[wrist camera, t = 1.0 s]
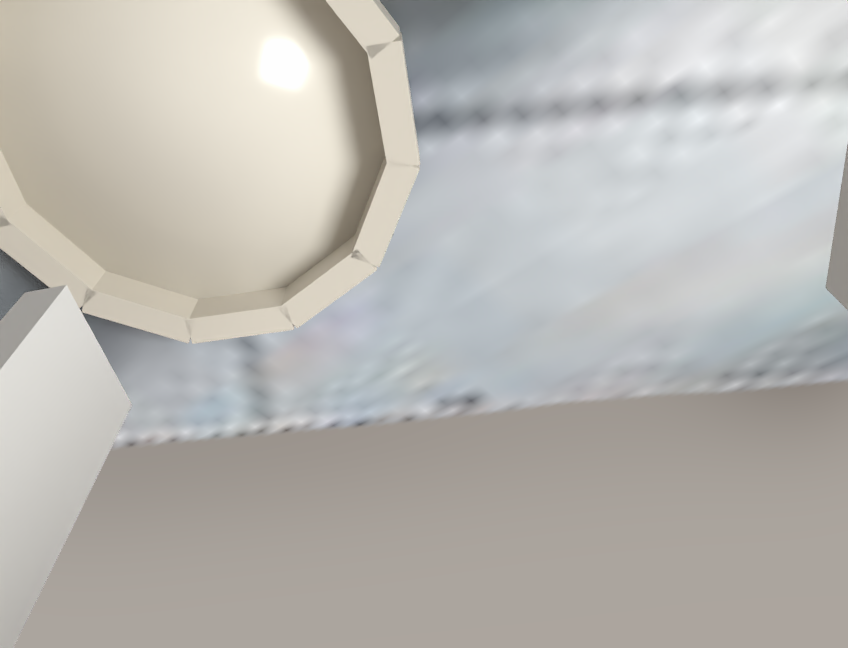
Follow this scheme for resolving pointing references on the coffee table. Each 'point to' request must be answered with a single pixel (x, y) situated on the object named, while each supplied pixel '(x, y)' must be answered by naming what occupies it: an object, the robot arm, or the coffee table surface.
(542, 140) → the coffee table surface
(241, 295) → the round tray
